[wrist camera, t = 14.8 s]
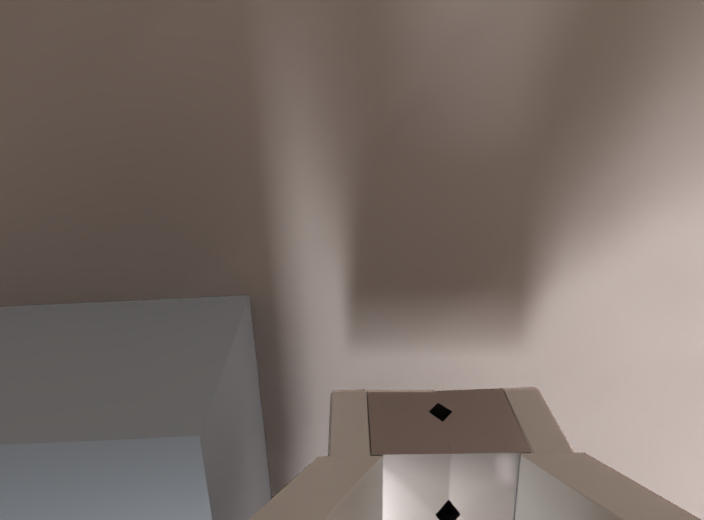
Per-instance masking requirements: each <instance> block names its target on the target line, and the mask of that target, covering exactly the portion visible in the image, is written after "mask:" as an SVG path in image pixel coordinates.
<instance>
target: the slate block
mask: <svg viewBox="0 0 704 520" xmlns="http://www.w3.org/2000/svg"><path fill="white" fill-rule="evenodd" d="M271 499H272V496H271V487H270V478H269V469H268V460H267V450H266V441H265V432H264V423H263V414H262V405H261V395H260V386H259V377H258V368H257V359H256V350H255V340H254V331H253V322H252V313H251V304H250V295H237V296H216V297H194V298H173V299H151V300H129V301H108V302H86V303H65V304H43V305H22V306H0V520H249V519H250V518H251V517H252V516H253V515H254V514H255V513H256V512H257V511H259V510H260V509H261V508H262V507H263V506H264V505H265V504H266V503H267V502H269V501H270V500H271Z"/></svg>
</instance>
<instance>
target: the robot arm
mask: <svg viewBox="0 0 704 520" xmlns="http://www.w3.org/2000/svg"><path fill="white" fill-rule="evenodd" d="M249 520H701V519H699V518H697V517H696V516H694V515H692V514H691V513H689V512H687V511H685V510H684V509H682V508H680V507H678V506H677V505H675V504H673V503H671V502H670V501H668V500H666V499H664V498H663V497H661V496H659V495H657V494H656V493H654V492H652V491H650V490H649V489H647V488H645V487H643V486H642V485H640V484H638V483H636V482H635V481H633V480H631V479H629V478H628V477H626V476H624V475H623V474H621V473H619V472H617V471H616V470H614V469H612V468H610V467H609V466H607V465H605V464H603V463H602V462H600V461H598V460H596V459H595V458H593V457H591V456H589V455H588V454H586V453H574V452H573V450H572V448H571V447H570V445H569V443H568V441H567V440H566V438H565V436H564V434H563V432H562V431H561V429H560V427H559V425H558V423H557V422H556V420H555V418H554V416H553V414H552V413H551V411H550V409H549V407H548V405H547V404H546V402H545V400H544V398H543V397H542V395H541V393H540V391H539V389H537V388H535V387H520V388H499V389H474V390H448V391H434V390H367V392H366V391H365V389H363V390H332V392H331V396H330V420H329V444H328V457H317V458H316V459H315V460H314V461H313V462H312V463H311V464H309V465H308V466H307V467H306V468H305V469H304V470H303V471H302V472H301V473H299V474H298V475H297V476H296V477H295V478H294V479H293V480H292V481H291V482H290V483H288V484H287V485H286V486H285V487H284V488H283V489H282V490H281V491H280V492H278V493H277V494H276V495H275V496H274V497H273V498H272V499H271V500H270V501H269V502H267V503H266V504H265V505H264V506H263V507H262V508H261V509H260V510H259V511H257V512H256V513H255V514H254V515H253V516H252V517H251V518H250V519H249Z"/></svg>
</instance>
